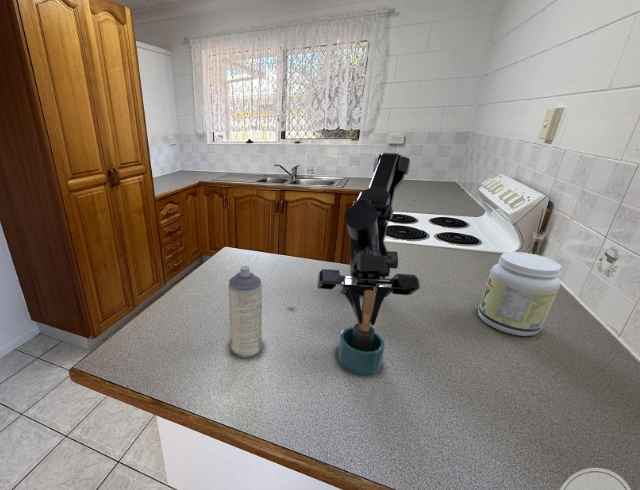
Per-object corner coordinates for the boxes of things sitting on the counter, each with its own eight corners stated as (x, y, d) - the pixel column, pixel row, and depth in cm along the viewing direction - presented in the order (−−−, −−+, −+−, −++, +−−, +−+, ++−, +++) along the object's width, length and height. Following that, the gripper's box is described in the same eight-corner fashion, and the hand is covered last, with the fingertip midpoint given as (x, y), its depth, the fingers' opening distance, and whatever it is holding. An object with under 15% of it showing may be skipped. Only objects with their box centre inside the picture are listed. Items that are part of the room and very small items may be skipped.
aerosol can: (255, 335, 74) (255, 259, 66) (265, 354, 68) (266, 273, 60) (228, 340, 72) (224, 263, 65) (234, 360, 66) (232, 277, 59)
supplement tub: (481, 303, 85) (501, 246, 78) (542, 322, 77) (568, 259, 70) (471, 322, 77) (491, 260, 70) (537, 345, 69) (566, 278, 62)
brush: (355, 338, 67) (363, 285, 62) (374, 345, 65) (384, 291, 59) (347, 347, 64) (355, 293, 59) (367, 356, 62) (377, 300, 57)
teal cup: (347, 342, 71) (350, 322, 69) (385, 358, 66) (390, 337, 64) (331, 362, 65) (333, 341, 63) (371, 382, 60) (375, 359, 58)
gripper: (322, 232, 60) (321, 312, 55) (427, 236, 57) (436, 322, 52) (318, 253, 71) (316, 322, 65) (406, 258, 67) (412, 331, 62)
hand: (366, 324), depth 61 cm, fingers closed on brush, 2 cm apart
